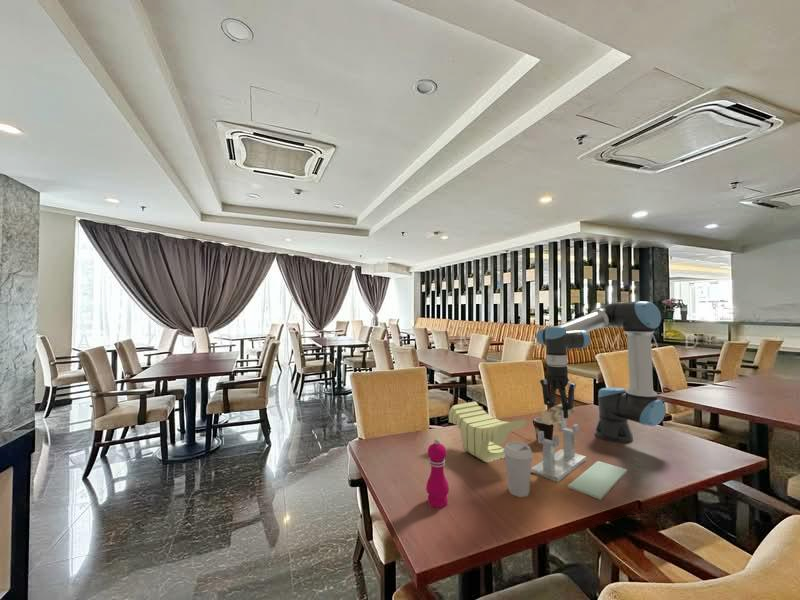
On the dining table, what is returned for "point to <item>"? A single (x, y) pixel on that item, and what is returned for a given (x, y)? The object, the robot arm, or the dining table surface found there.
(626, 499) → the dining table surface
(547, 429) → the coffee mug
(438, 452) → the pepper mill
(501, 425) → the slatted curved stool
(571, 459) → the rail stand
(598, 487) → the green mat
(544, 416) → the wooden rail
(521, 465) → the coffee cup
